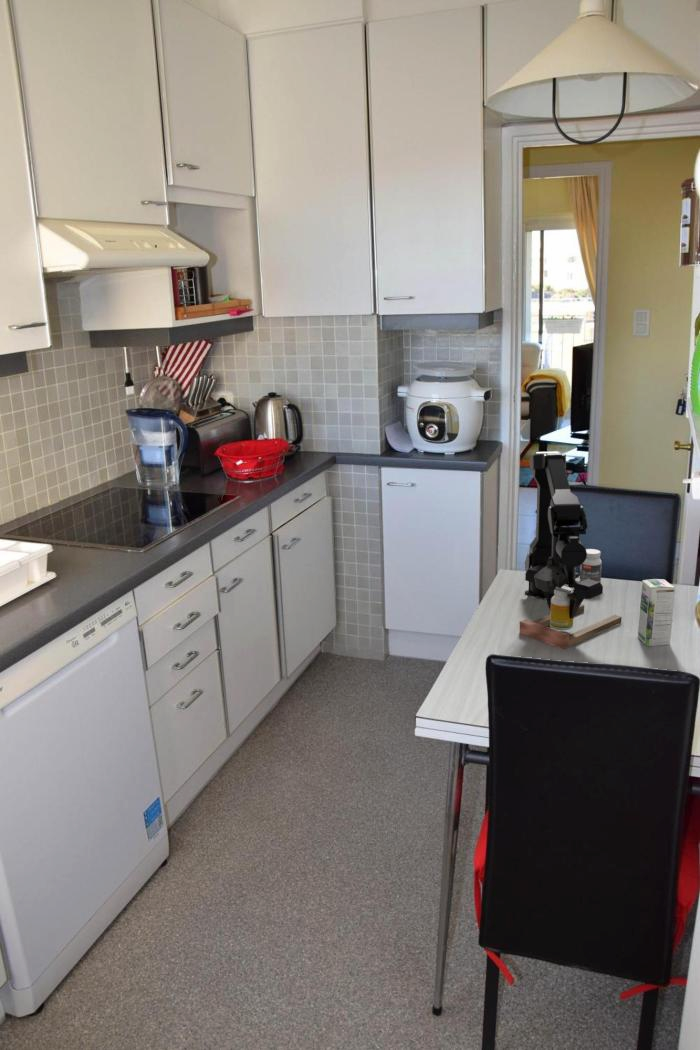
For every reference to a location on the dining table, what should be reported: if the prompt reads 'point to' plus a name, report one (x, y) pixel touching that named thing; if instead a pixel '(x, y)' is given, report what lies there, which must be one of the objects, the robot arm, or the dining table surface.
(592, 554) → the pill bottle
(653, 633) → the syrup box
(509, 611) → the dining table surface
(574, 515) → the robot arm
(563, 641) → the frame
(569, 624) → the supplement bottle
